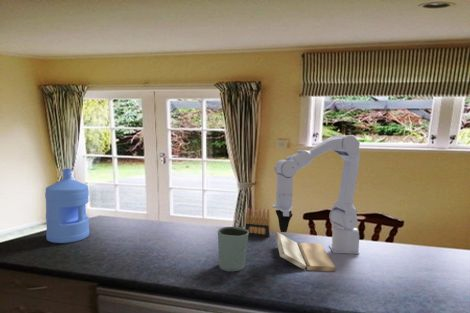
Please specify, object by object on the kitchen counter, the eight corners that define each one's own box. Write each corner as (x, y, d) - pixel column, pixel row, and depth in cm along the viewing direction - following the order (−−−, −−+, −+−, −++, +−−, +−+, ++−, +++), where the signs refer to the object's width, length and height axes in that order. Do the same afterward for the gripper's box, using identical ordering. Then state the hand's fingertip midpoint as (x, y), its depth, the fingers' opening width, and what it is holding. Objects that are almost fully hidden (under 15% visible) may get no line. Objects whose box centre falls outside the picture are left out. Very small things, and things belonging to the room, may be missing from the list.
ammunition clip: (269, 236, 143) (270, 208, 142) (269, 237, 142) (270, 209, 141) (245, 233, 146) (246, 206, 145) (244, 235, 144) (245, 207, 143)
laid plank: (320, 247, 131) (320, 243, 131) (334, 271, 109) (335, 266, 109) (297, 246, 131) (297, 242, 131) (307, 270, 109) (307, 265, 109)
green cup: (213, 262, 114) (213, 228, 113) (240, 258, 118) (240, 225, 117) (223, 274, 105) (224, 237, 104) (252, 269, 109) (253, 233, 108)
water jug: (36, 241, 131) (34, 170, 129) (67, 229, 146) (66, 166, 144) (69, 246, 126) (67, 172, 124) (97, 233, 141) (96, 168, 139)
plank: (294, 246, 131) (297, 242, 131) (304, 269, 109) (306, 265, 109) (275, 235, 131) (277, 231, 131) (280, 256, 109) (282, 252, 109)
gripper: (271, 189, 126) (270, 224, 127) (274, 197, 112) (273, 237, 113) (290, 190, 126) (289, 225, 127) (296, 198, 111) (294, 237, 113)
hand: (283, 231), depth 120 cm, fingers closed
